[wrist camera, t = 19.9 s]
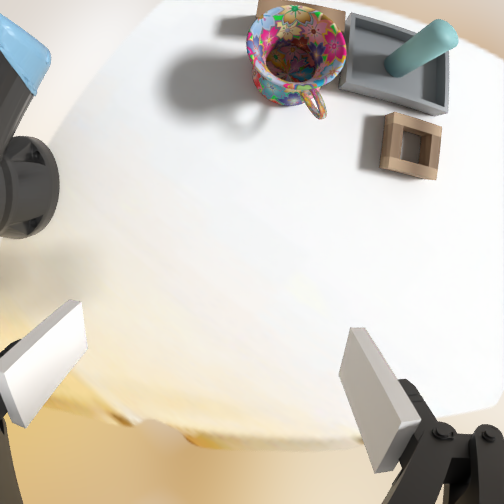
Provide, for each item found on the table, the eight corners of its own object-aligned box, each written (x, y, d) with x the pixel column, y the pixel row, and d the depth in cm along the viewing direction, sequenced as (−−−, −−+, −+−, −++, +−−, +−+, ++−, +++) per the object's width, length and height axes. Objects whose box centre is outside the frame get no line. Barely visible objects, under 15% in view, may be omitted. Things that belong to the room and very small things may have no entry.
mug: (237, 56, 35) (231, 20, 24) (306, 34, 34) (321, -4, 23) (274, 141, 37) (281, 130, 27) (344, 117, 36) (373, 100, 26)
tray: (338, 89, 35) (345, 82, 32) (344, 23, 33) (350, 12, 29) (434, 116, 36) (448, 113, 32) (436, 53, 33) (448, 46, 30)
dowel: (383, 73, 34) (431, 41, 21) (384, 52, 33) (430, 14, 20) (405, 80, 34) (459, 52, 21) (406, 59, 33) (457, 26, 20)
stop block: (256, 33, 34) (255, 16, 29) (259, 14, 33) (259, -4, 28) (334, 46, 34) (344, 31, 29) (336, 27, 33) (345, 11, 28)
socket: (379, 167, 38) (388, 168, 35) (385, 115, 36) (394, 111, 33) (425, 179, 38) (436, 180, 35) (430, 128, 36) (441, 126, 33)
